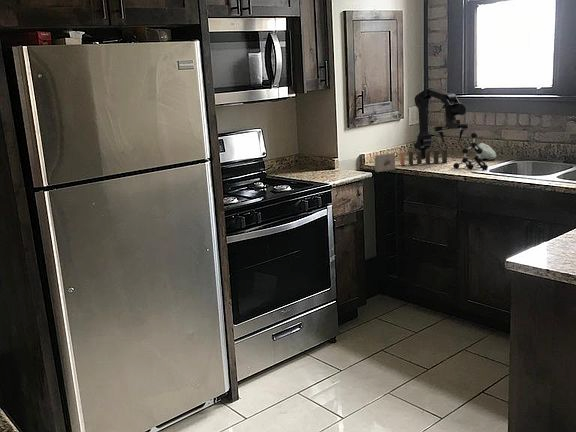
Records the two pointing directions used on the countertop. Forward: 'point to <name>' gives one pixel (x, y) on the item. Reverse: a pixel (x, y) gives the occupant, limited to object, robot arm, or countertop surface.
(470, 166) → the molecular model
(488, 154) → the decorative stone
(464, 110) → the robot arm
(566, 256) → the countertop surface
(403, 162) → the domino
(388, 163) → the fossil
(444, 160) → the domino
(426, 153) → the domino
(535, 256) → the countertop surface
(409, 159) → the domino
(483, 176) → the countertop surface
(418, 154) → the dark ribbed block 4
